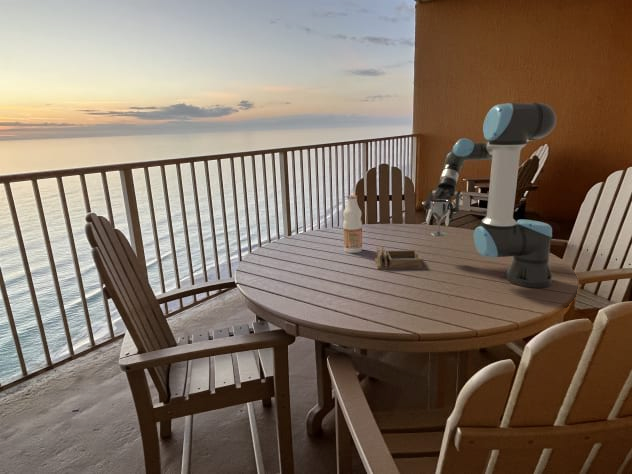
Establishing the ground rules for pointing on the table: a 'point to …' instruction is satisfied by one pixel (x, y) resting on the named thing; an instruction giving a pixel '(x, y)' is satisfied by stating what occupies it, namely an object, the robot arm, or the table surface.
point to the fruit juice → (352, 226)
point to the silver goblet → (439, 212)
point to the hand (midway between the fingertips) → (436, 223)
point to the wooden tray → (398, 259)
